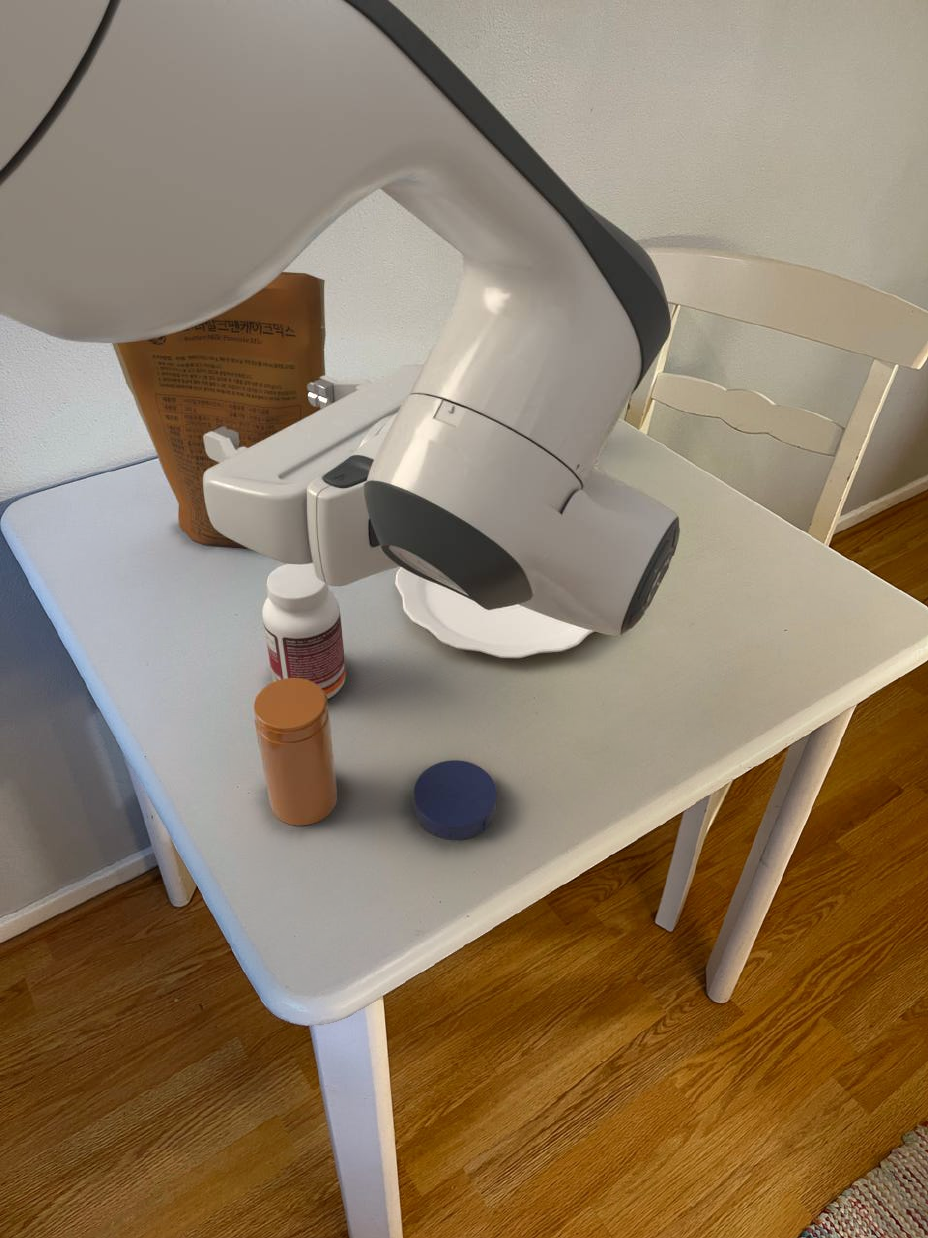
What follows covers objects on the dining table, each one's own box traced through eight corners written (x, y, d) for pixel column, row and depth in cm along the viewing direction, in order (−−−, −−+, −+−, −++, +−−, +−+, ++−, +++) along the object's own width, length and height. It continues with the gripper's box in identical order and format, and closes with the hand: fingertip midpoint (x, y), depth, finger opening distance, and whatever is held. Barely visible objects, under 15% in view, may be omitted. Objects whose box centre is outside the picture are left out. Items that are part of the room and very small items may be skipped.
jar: (280, 835, 65) (263, 738, 58) (262, 785, 68) (244, 688, 62) (346, 812, 67) (337, 716, 60) (325, 765, 70) (314, 668, 63)
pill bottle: (359, 668, 78) (352, 568, 71) (323, 716, 74) (311, 613, 67) (297, 648, 80) (284, 548, 73) (259, 693, 76) (241, 591, 68)
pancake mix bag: (338, 567, 89) (314, 285, 71) (151, 551, 90) (81, 270, 72) (351, 528, 94) (332, 256, 76) (175, 514, 95) (114, 242, 77)
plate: (628, 551, 92) (630, 538, 91) (595, 689, 77) (597, 675, 76) (434, 516, 96) (434, 503, 95) (366, 641, 81) (365, 627, 80)
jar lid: (513, 807, 67) (514, 793, 66) (454, 856, 64) (455, 842, 63) (455, 761, 71) (456, 747, 69) (396, 804, 67) (396, 790, 66)
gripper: (522, 374, 59) (365, 321, 65) (304, 509, 47) (134, 427, 53) (517, 458, 63) (369, 400, 70) (314, 603, 51) (156, 517, 57)
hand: (266, 413), depth 61 cm, fingers open, 8 cm apart
